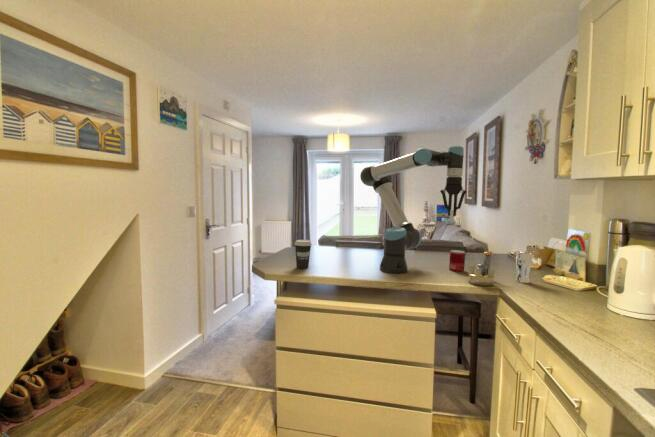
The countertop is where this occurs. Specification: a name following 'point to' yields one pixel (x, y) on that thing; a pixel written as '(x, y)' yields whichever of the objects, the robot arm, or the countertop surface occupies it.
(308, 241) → the coffee cup
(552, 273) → the countertop surface
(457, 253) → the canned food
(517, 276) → the beer glass
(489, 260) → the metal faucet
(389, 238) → the robot arm
